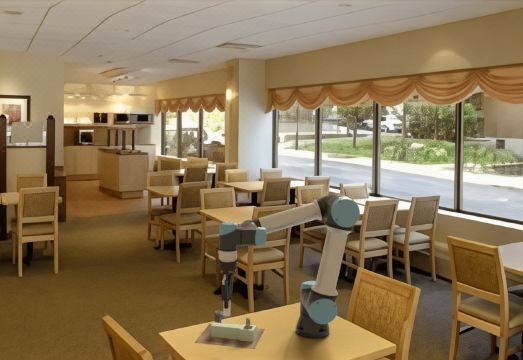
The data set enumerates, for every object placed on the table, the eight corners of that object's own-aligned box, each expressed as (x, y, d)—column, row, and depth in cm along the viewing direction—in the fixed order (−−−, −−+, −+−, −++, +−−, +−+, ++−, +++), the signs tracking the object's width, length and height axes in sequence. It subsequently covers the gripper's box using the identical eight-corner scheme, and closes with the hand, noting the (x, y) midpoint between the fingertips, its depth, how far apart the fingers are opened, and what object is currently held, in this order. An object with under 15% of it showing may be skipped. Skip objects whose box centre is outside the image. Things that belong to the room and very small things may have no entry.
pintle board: (264, 331, 242) (265, 309, 241) (254, 351, 221) (254, 327, 220) (209, 325, 247) (209, 304, 246) (194, 344, 226) (194, 322, 225)
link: (256, 336, 234) (256, 325, 233) (253, 341, 228) (253, 330, 227) (214, 332, 237) (214, 321, 237) (210, 337, 232) (210, 326, 231)
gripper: (223, 255, 227) (222, 308, 230) (214, 263, 215) (213, 319, 217) (240, 256, 226) (239, 310, 229) (232, 264, 213) (231, 321, 216)
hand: (226, 315), depth 223 cm, fingers closed
